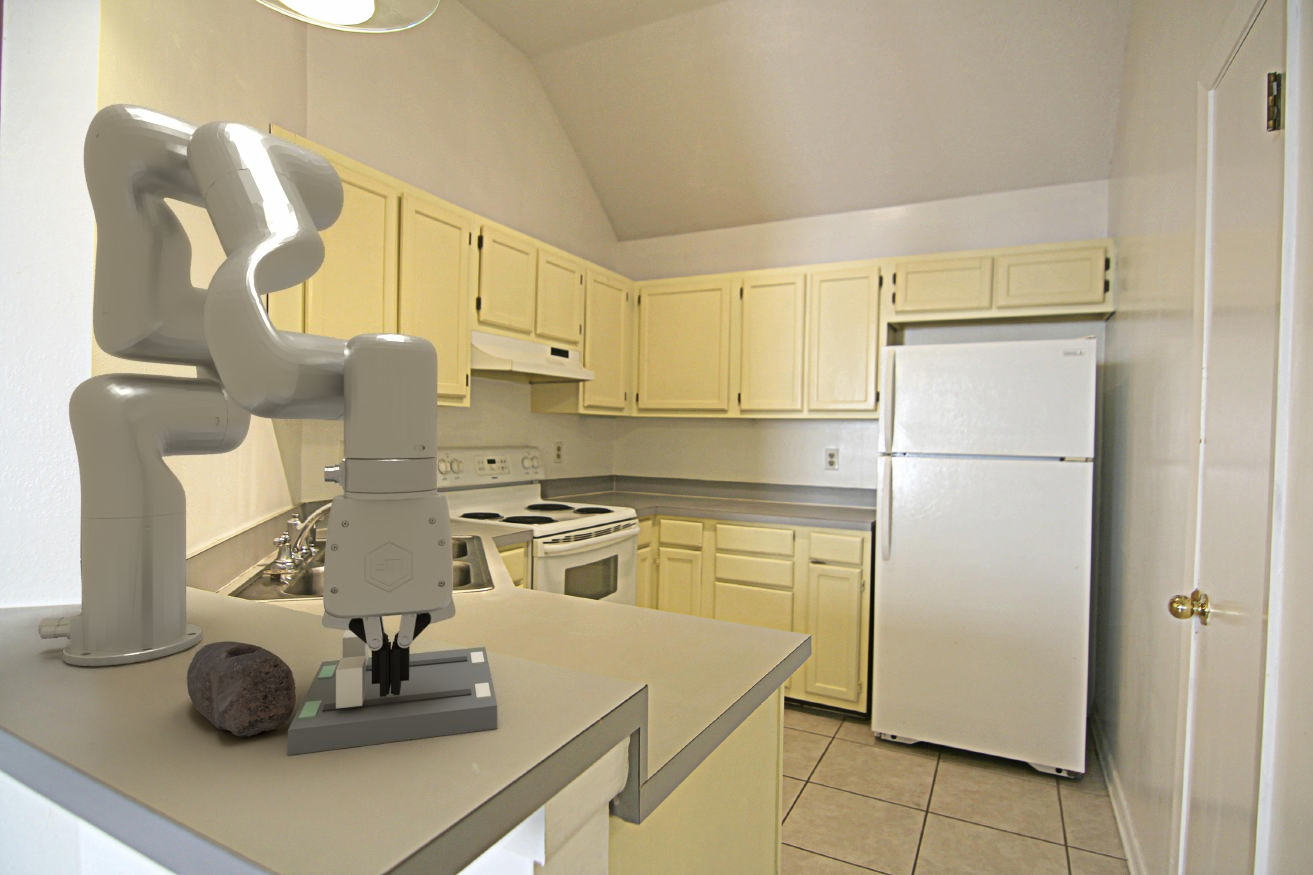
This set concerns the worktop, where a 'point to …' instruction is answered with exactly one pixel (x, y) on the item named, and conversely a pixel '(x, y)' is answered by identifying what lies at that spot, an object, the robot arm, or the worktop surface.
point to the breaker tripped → (351, 682)
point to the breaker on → (354, 646)
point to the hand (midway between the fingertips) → (390, 689)
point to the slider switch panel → (399, 704)
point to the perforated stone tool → (241, 687)
